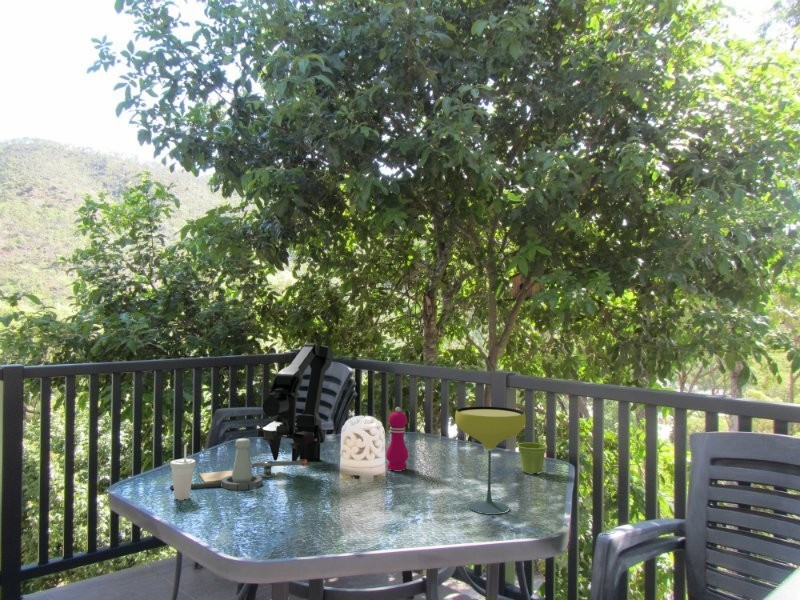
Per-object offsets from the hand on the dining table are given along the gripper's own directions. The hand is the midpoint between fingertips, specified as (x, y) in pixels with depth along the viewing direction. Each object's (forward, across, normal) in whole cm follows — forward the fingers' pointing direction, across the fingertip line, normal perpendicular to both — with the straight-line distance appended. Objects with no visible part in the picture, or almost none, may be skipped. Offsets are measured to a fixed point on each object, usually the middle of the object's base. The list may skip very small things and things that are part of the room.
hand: (284, 462), depth 195 cm
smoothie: (+4, -4, -37) cm, 37 cm away
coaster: (+3, -11, -16) cm, 20 cm away
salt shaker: (+3, 0, -18) cm, 18 cm away
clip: (0, +2, -4) cm, 5 cm away
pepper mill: (+2, +28, +23) cm, 36 cm away
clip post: (+3, -1, -7) cm, 7 cm away
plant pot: (+1, +66, +44) cm, 79 cm away
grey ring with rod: (+3, -5, -23) cm, 24 cm away
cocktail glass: (+2, +68, 0) cm, 68 cm away
